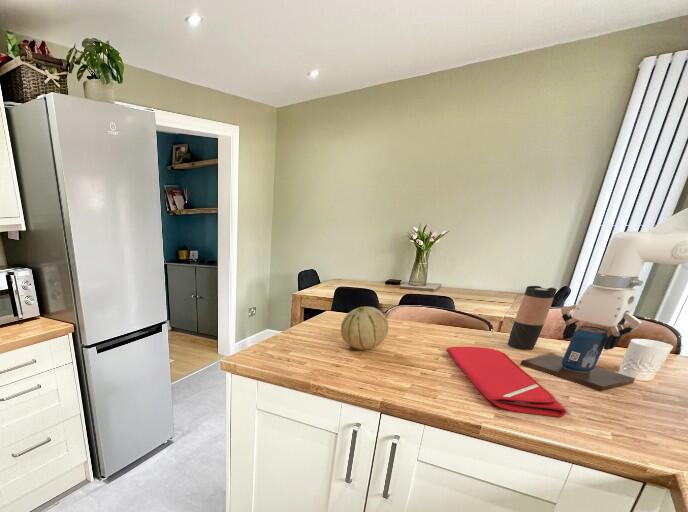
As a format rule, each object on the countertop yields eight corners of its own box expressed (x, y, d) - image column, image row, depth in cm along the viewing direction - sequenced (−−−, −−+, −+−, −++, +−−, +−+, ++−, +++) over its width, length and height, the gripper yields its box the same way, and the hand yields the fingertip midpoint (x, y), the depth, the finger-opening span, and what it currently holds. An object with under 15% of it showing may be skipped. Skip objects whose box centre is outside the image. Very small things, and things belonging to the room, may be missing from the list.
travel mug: (514, 349, 134) (536, 290, 125) (501, 342, 141) (521, 285, 132) (539, 350, 133) (563, 290, 124) (525, 343, 139) (547, 285, 131)
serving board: (632, 383, 109) (635, 378, 109) (600, 391, 105) (603, 386, 105) (550, 358, 126) (552, 354, 126) (519, 364, 122) (521, 360, 122)
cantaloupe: (392, 349, 137) (402, 306, 130) (367, 359, 129) (376, 314, 123) (353, 338, 148) (360, 298, 141) (329, 347, 140) (335, 305, 134)
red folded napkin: (500, 357, 128) (504, 346, 126) (566, 418, 93) (572, 404, 91) (444, 352, 133) (447, 342, 131) (487, 409, 98) (491, 396, 96)
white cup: (615, 368, 118) (630, 336, 114) (654, 376, 113) (672, 342, 109) (614, 376, 113) (631, 343, 109) (655, 384, 108) (674, 350, 104)
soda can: (569, 363, 119) (586, 324, 114) (598, 371, 113) (617, 331, 108) (554, 366, 117) (570, 327, 112) (582, 375, 111) (600, 334, 106)
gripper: (668, 286, 98) (635, 351, 105) (583, 275, 113) (560, 333, 120) (649, 289, 96) (617, 355, 103) (566, 277, 111) (543, 336, 118)
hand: (586, 343), depth 112 cm, fingers open, 9 cm apart
